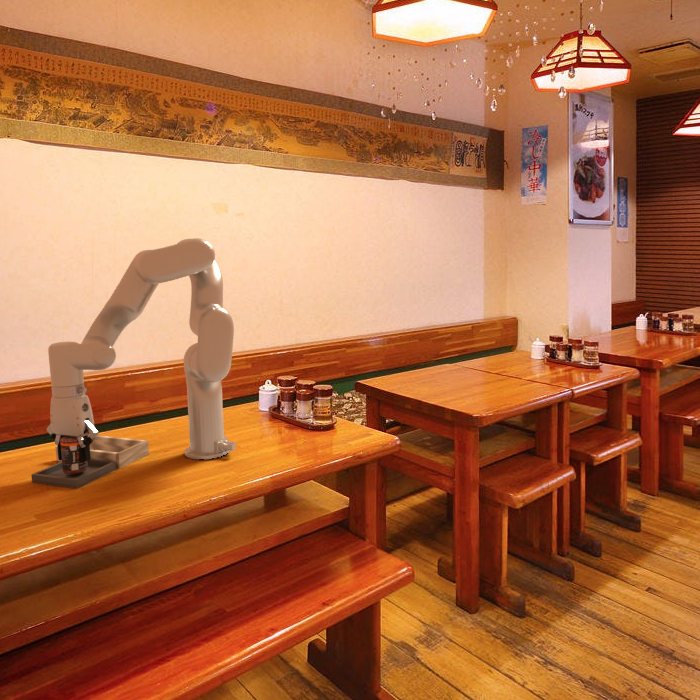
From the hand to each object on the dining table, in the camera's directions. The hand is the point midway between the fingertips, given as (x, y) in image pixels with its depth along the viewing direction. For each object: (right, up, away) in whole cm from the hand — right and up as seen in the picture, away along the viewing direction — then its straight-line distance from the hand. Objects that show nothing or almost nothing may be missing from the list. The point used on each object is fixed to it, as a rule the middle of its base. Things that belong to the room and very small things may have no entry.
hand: (74, 459), depth 158 cm
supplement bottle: (0, -3, 0) cm, 3 cm away
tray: (0, -4, +1) cm, 4 cm away
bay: (+1, -2, +15) cm, 15 cm away
